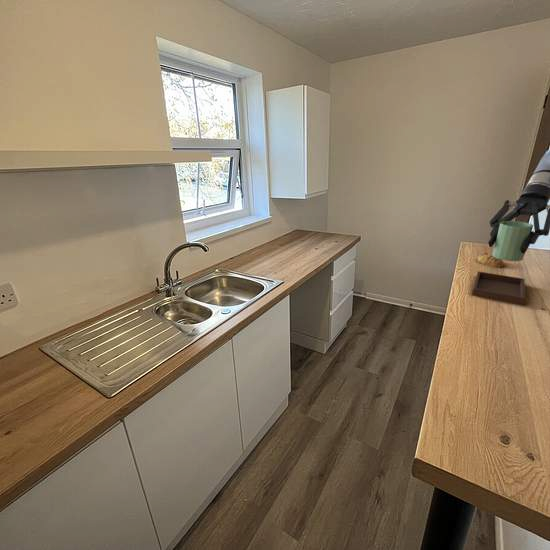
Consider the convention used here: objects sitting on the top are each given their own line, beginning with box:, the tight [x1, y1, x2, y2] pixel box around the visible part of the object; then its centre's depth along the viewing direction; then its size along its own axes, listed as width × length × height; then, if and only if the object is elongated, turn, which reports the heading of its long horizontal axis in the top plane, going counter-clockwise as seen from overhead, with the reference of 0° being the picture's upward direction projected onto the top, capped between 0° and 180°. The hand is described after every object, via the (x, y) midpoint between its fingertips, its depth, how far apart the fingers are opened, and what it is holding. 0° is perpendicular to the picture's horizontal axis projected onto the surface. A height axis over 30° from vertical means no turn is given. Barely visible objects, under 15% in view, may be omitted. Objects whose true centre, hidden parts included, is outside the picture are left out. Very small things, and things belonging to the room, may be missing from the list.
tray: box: [471, 271, 527, 306], centre depth 102 cm, size 18×14×3 cm
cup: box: [491, 220, 534, 262], centre depth 96 cm, size 8×8×11 cm
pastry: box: [476, 252, 505, 268], centre depth 124 cm, size 9×7×4 cm
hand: (505, 247), depth 95 cm, fingers closed on cup, 8 cm apart
